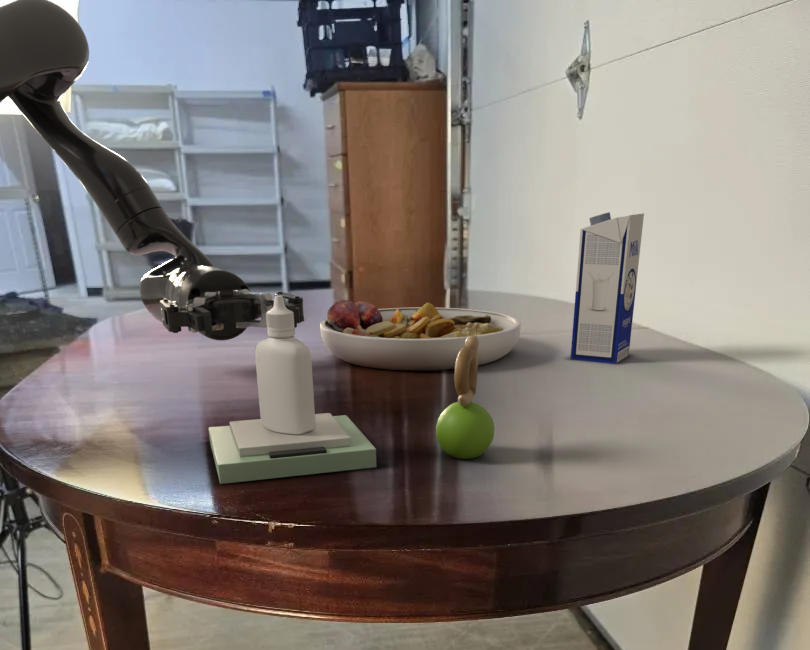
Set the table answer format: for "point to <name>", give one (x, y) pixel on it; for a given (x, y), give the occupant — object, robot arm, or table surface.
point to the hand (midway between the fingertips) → (251, 320)
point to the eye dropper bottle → (284, 375)
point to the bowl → (414, 335)
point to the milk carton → (606, 288)
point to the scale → (288, 449)
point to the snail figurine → (465, 409)
